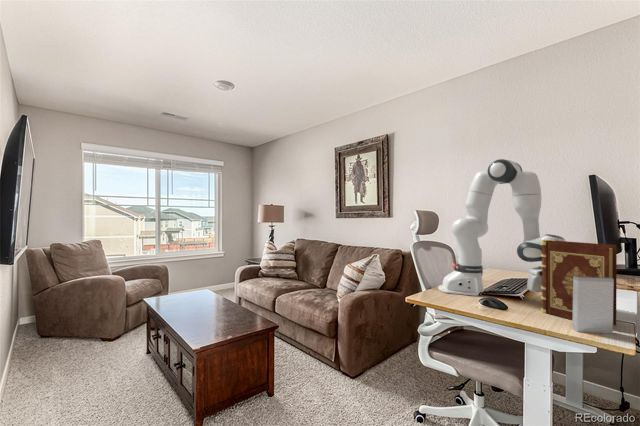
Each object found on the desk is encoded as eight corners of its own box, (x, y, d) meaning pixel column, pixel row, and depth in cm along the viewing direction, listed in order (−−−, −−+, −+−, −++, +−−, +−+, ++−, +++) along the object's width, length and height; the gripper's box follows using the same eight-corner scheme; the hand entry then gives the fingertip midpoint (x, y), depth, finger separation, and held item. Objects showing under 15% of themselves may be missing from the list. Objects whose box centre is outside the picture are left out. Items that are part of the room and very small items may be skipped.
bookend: (577, 331, 106) (577, 277, 106) (572, 328, 108) (573, 275, 108) (612, 334, 104) (613, 278, 104) (607, 331, 106) (607, 277, 106)
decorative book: (537, 311, 127) (537, 241, 127) (547, 308, 131) (547, 239, 131) (608, 329, 108) (608, 246, 107) (616, 325, 112) (617, 244, 111)
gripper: (575, 270, 134) (575, 301, 134) (525, 269, 137) (525, 299, 138) (585, 273, 128) (585, 306, 128) (533, 271, 131) (532, 303, 131)
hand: (553, 302), depth 133 cm, fingers closed
